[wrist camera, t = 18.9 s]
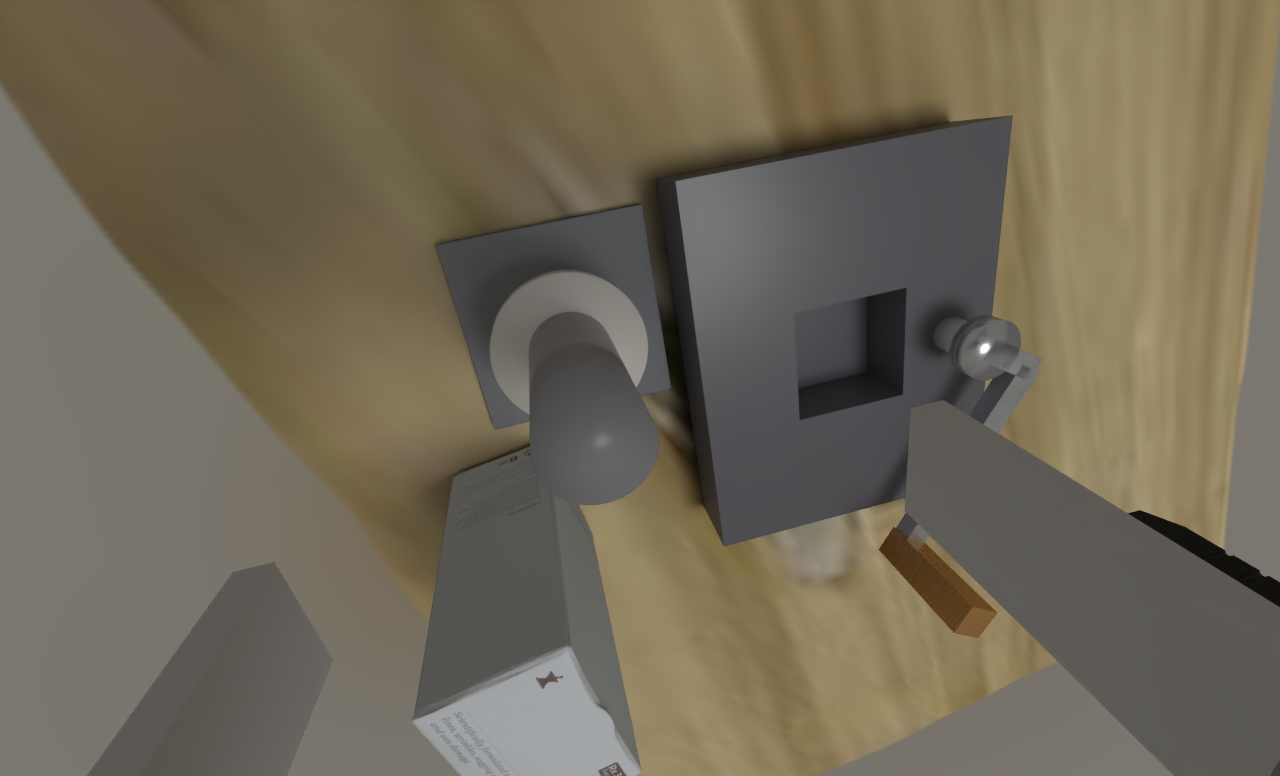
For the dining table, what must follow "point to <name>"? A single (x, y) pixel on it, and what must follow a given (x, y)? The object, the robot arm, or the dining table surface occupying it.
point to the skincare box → (521, 636)
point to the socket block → (828, 313)
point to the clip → (991, 355)
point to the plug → (577, 383)
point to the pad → (515, 256)
